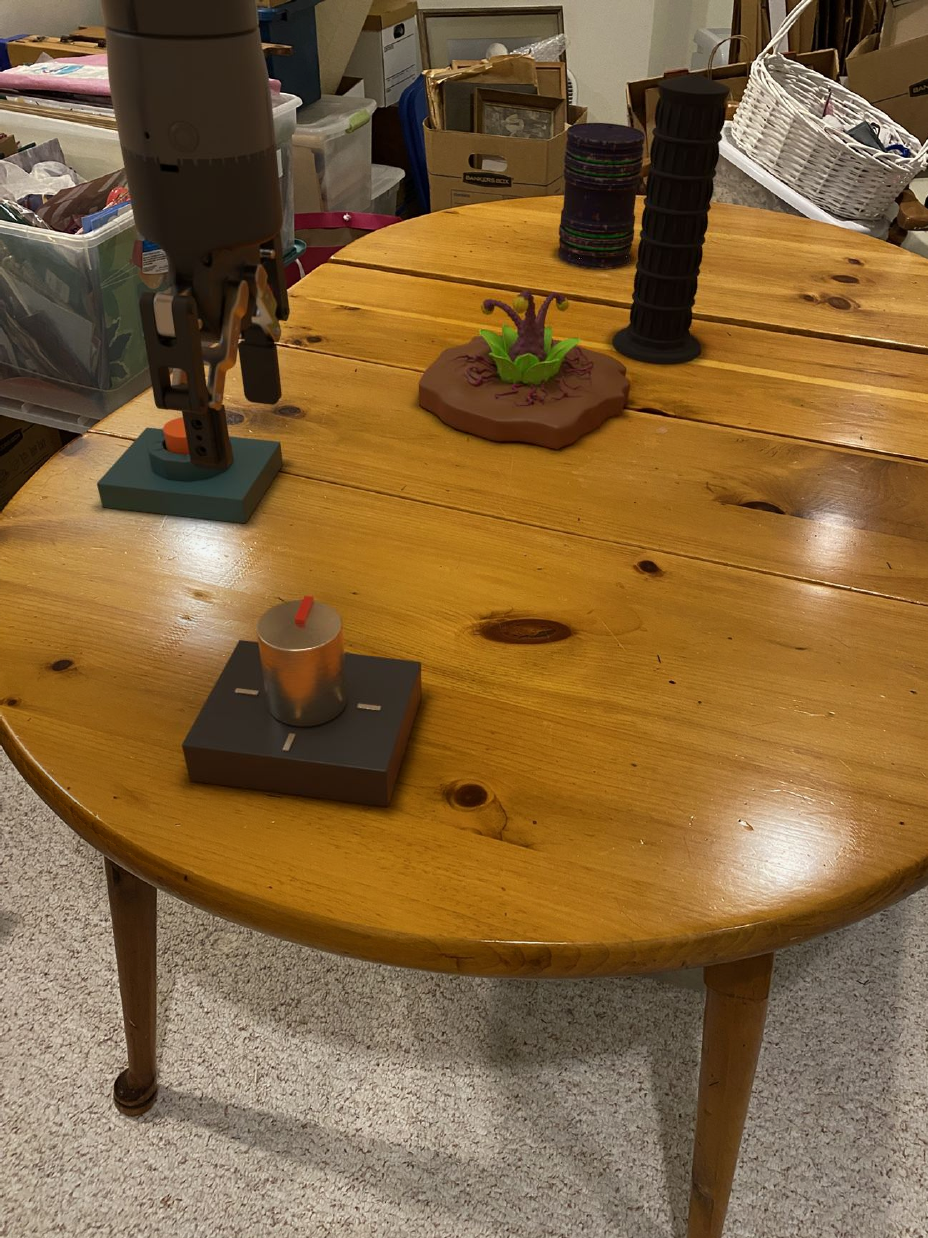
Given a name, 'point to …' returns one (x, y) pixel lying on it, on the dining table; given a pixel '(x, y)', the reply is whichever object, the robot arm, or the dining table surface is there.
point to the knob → (303, 662)
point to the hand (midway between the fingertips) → (239, 432)
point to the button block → (190, 479)
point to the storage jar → (600, 194)
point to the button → (176, 436)
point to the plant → (524, 381)
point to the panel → (307, 733)
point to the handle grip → (674, 220)
